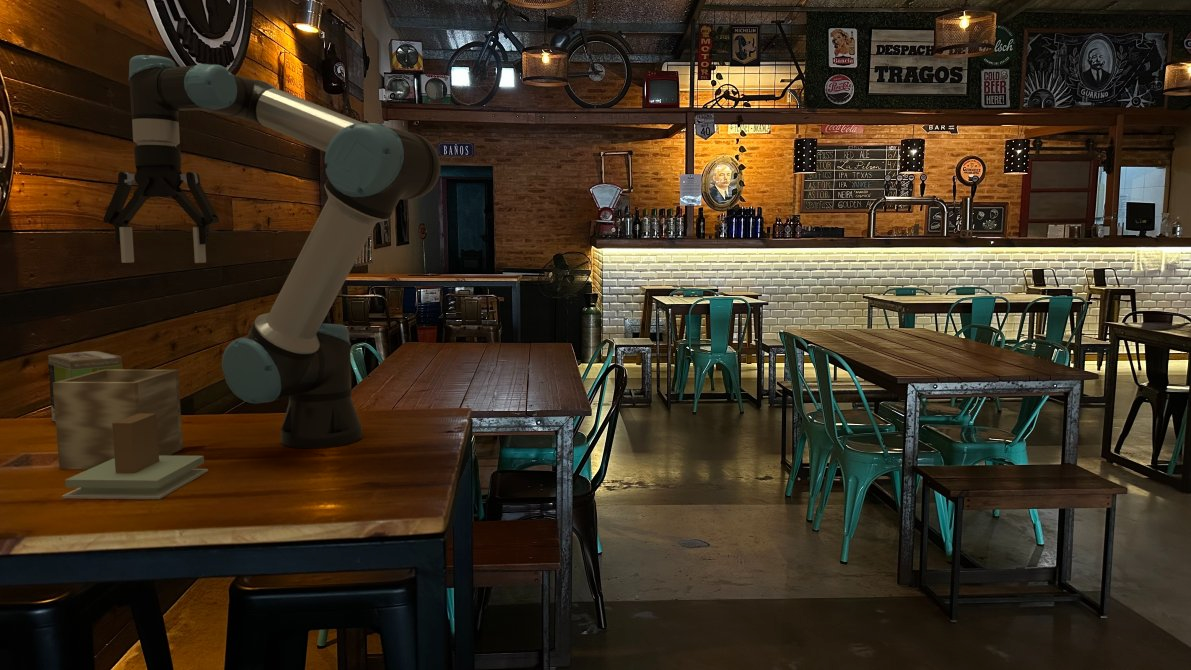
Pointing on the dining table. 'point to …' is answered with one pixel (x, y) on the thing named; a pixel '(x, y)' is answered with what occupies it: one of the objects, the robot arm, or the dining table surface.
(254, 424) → the dining table surface
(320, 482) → the dining table surface
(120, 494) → the mat
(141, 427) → the lid
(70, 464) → the crate
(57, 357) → the tea box
